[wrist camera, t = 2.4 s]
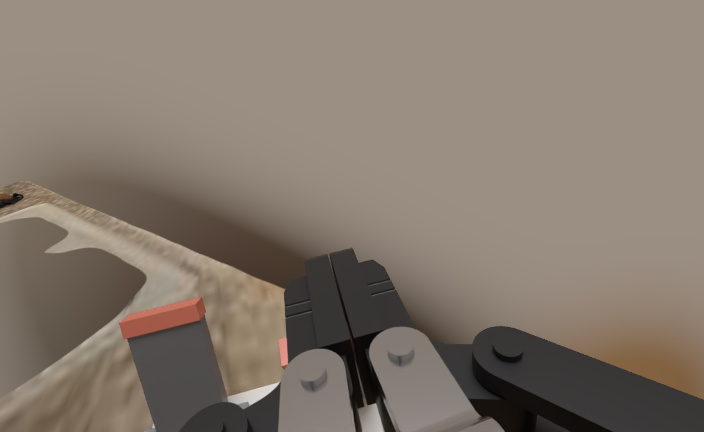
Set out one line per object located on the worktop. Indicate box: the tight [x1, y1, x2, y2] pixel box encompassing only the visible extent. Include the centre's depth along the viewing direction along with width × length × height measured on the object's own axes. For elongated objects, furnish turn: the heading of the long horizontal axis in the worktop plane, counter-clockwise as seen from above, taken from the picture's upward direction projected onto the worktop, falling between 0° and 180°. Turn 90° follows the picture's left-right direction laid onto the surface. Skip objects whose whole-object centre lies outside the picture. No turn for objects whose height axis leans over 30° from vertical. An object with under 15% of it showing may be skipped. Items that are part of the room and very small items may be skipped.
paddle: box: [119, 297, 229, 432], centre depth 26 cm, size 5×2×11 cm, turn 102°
